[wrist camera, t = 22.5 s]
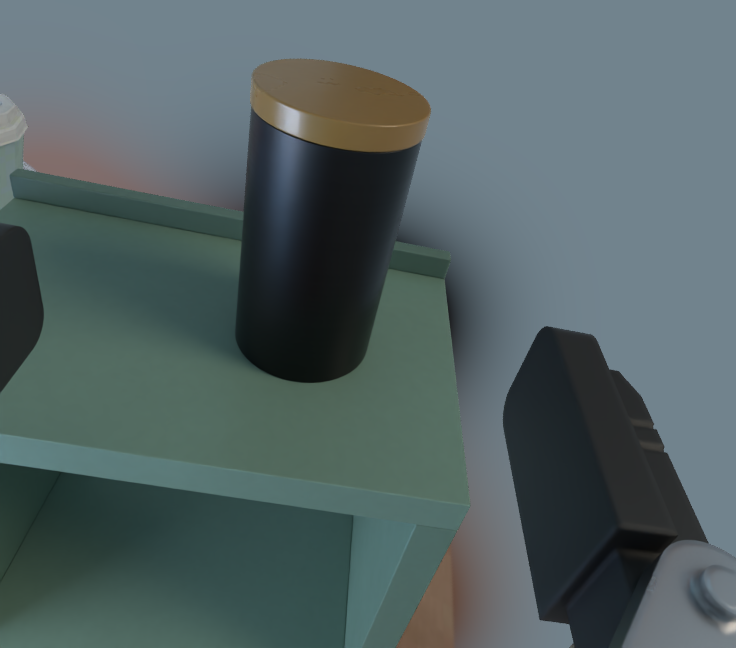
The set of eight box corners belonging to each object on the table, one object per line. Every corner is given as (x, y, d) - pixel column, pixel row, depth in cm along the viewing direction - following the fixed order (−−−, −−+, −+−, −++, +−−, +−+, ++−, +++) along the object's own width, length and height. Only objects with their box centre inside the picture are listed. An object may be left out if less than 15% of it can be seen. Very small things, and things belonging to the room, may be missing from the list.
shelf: (-54, 668, 29) (-238, 371, 16) (70, 447, 40) (17, 167, 27) (359, 716, 31) (482, 484, 18) (369, 493, 42) (450, 251, 29)
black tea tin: (218, 370, 21) (232, 97, 15) (249, 285, 26) (269, 46, 20) (365, 395, 22) (435, 141, 16) (371, 308, 26) (427, 81, 20)
